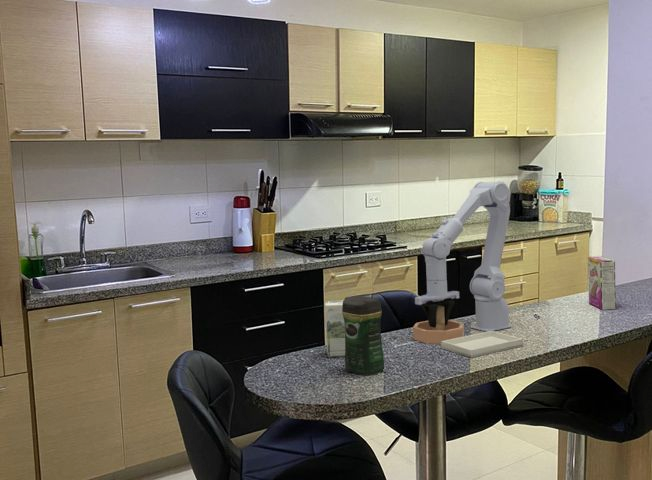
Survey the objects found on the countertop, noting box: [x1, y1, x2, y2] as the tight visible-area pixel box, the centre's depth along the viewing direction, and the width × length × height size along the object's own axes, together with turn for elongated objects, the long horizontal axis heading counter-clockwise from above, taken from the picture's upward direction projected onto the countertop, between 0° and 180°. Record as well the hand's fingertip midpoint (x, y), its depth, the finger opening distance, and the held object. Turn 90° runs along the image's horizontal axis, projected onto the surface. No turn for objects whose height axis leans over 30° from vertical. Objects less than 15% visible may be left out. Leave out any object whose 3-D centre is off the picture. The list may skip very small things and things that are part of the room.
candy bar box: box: [587, 255, 617, 311], centre depth 215 cm, size 11×5×16 cm, turn 179°
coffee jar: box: [342, 295, 385, 376], centre depth 158 cm, size 10×8×19 cm
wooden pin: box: [432, 305, 445, 331], centre depth 187 cm, size 4×4×9 cm
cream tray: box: [441, 330, 524, 359], centre depth 174 cm, size 18×12×2 cm, turn 118°
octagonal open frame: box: [412, 319, 465, 345], centre depth 187 cm, size 14×14×4 cm
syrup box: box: [324, 299, 345, 358], centre depth 174 cm, size 6×6×14 cm
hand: (438, 325), depth 187 cm, fingers closed on wooden pin, 4 cm apart
